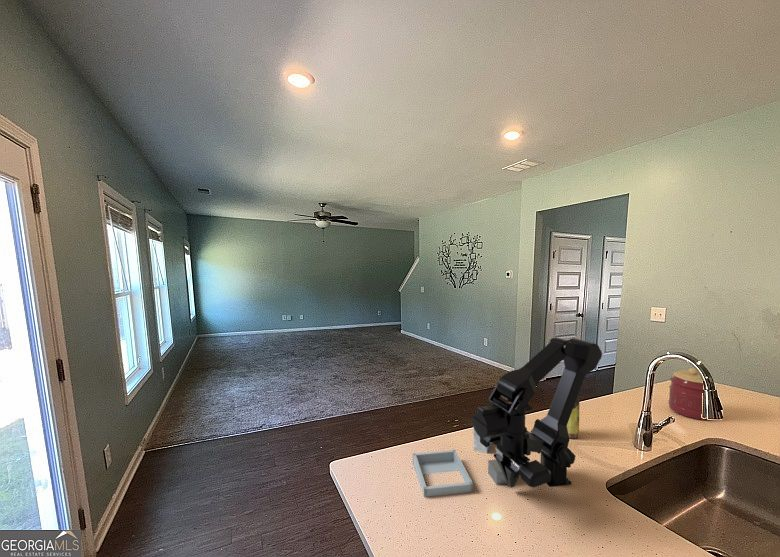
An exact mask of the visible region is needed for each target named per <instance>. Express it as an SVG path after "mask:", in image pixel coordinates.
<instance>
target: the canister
mask: <svg viewBox="0 0 780 557" xmlns="http://www.w3.org/2000/svg"><path fill="white" fill-rule="evenodd" d="M696 369H697V368H695V367H690V368H689V369H681V370H680V369H679V370H678V371H674V372H673V373H672V376H670V377H669V380H670V381H671V384H670V385H669V387H668V388H669V398H668V407H669V409H671V411H673V412H675V413H677V414H680V415H682V416H684V417H688V418H693V419H697V420H703V421H706V420H705V419H702V418H701V414H702V393H703V383H702V380H701V377H700V374H699V373H700V372H699V371H698V370H697V371H698V372H699V373H698V372H697V371H696ZM713 381H714V379H713ZM714 382H715V381H714ZM716 390H717V386H716Z"/></svg>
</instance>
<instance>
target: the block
mask: <svg viewBox="0 0 780 557" xmlns="http://www.w3.org/2000/svg"><path fill="white" fill-rule="evenodd" d="M487 464H488V465H487V467H488V468H487V474H488V475H489V476H490V478H491V479H492V481H493V483H495V485H496V486H498V485H500V486H501V485H508V483H507V481H506V479H505V477H504V474H503V472H502V470H501V468H500V466H499V464H498V462H497V460H496V459H488V461H487Z"/></svg>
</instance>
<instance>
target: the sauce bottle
mask: <svg viewBox="0 0 780 557" xmlns="http://www.w3.org/2000/svg"><path fill="white" fill-rule="evenodd" d="M567 430H568V435H569V439H573V438H575V439H577V438H578V437H579V433H580V400H579V397H578V396H577V399H576V402H575V405H574V407H573V410H572V413H571V416H570V418H569V421H568V424H567Z"/></svg>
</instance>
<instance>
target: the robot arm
mask: <svg viewBox="0 0 780 557" xmlns="http://www.w3.org/2000/svg"><path fill="white" fill-rule="evenodd" d="M602 357H603V353H602V349H601V348H600V346H599V344H597V343H595V342H591V341H588V340H587V341H586V340H584V339H578V338H575V337H572V338H570V339H564V338H563V339H562V338H559V337H552V338H551V339H550V340H549V342H548V344H547V345H546V346H544V348H542V349H541V350H540V351H539V352H537V354H536V355H534V357H532V358H531V359H530V360H529V361H528V362H527V363H525V364H524V365H523V366H522V367H520V368H518V369H514V370H509V372H506V374H504V375H502V376H500V378H499V379H498V381H497V382H496V385H495V386H494V388H493V390H492V392H491V393H490V395H489V397H488V399H487V401H488V403H490V404H491V405H490V404H489V405H486V406H485V405H484V406H483V405H482V406H478V407H477V411H475V412H474V413H473V415H472V417H471V420H472V421H471V422H472V428H473V427H474V429H475V431H476V433H477V434H478V436H480V443H481V444H483V445H484V446H485V447H489V446H490V442H492V443H491V444H493V445H495V446H496V447H495V448H494V449H495V453H494V454H493V457H494V460H497V462H498V464H499V466H500V468H501V470H502V472H503V474H504V477H505V479H506V481H507V483H508V484H507V485H508V487H510V488H511V489H513V488H514V487H515V486H516V484H517V482H518V479H519V477H520V479H521V480H522V481H523V482H524V483H526V485H527V486H529V487H530V488H537V487H539V486H542V485H545V484H547V486H548V487H551V488H552V487H561V486H570V485H572V481H571V480H570V479H569V478H568V477H567V472H568V469H570V468H572V465H574V463H575V461H576V454H575V453H574V452H572V450H571V449H570V448H569V444H570V438H569V435H568V430H567V424H568V421H569V418H570V416H571V413H572V410H573V407H574V405H575V402H576V399H577V397H578V396H579V393H580V390H581V389H582V385H583V383H584V379H585V377H586V375H588V374H589V373H592V372H593V371H594V370H596V368H597V366H598V365H599V363H600V361H601V359H602ZM562 361H563V365H564V370H563V372H562V375H561V376H560V380H559V382H558V385H557V388H556V391H555V393H554V396H553V399H552V401H551V403H550V406H549V409H548V411H547V414H546V416H545V417H543V418H541V419H540V418H537V419H536V420H535V421H534V425H533V427H532V429H531V430H530V431H528V428H527V427H526V412H528V411H532V410H533V406H531V405H530V404H529V402H530V401H531V400H532V398H533V397H534V396H535V394H536V390H537V386H538V384H539V383H540V382H541V381H542V380H543V379H544V378H545V377H546V376H547V375H548V374H549V373H550V372H552V371H553V369H555V368H556V367H557V366H559V364H560V363H561V362H562ZM501 398H503V399H505V400H507V401H508V402H506V401H505V400H503V399H501ZM490 447H491V446H490ZM532 453H537V454H539V455H540V459H539V460H540V461H538V460H537V459H534V460H531V459H530V458H529V457H528V456H531V454H532Z"/></svg>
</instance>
